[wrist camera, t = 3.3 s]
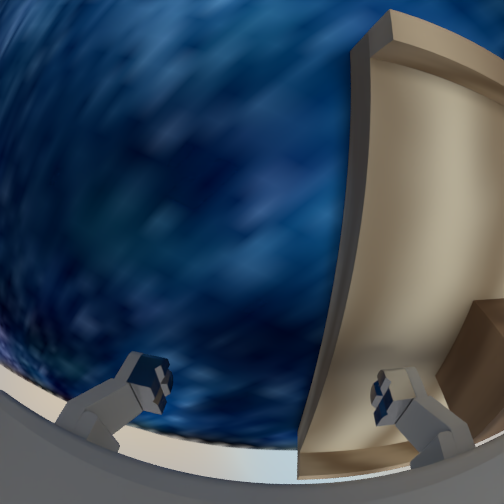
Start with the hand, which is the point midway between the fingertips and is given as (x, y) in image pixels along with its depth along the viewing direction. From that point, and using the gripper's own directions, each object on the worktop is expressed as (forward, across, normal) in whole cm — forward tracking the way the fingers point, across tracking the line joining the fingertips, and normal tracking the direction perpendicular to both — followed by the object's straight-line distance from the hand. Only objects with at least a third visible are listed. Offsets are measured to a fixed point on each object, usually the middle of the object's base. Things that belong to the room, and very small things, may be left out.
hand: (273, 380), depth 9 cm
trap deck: (+4, -20, 0) cm, 20 cm away
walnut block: (+2, -12, 0) cm, 12 cm away
